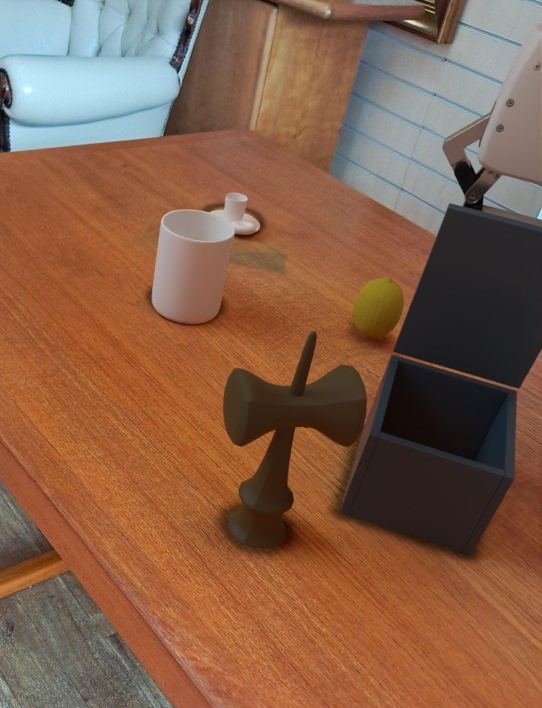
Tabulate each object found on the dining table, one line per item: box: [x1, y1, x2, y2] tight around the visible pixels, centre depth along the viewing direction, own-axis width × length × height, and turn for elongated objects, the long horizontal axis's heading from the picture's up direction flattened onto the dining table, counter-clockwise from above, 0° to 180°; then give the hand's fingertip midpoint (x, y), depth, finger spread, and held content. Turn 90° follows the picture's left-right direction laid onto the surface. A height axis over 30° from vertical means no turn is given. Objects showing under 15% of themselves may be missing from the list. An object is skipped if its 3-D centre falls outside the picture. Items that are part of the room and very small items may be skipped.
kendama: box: [222, 330, 368, 549], centre depth 61 cm, size 6×10×20 cm, turn 101°
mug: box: [151, 208, 236, 325], centre depth 92 cm, size 12×8×10 cm
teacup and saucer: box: [209, 192, 261, 236], centre depth 112 cm, size 9×8×4 cm
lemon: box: [352, 276, 405, 340], centre depth 92 cm, size 6×6×8 cm
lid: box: [392, 202, 542, 389], centre depth 68 cm, size 14×12×5 cm
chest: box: [339, 353, 518, 557], centre depth 71 cm, size 14×12×10 cm
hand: (500, 254), depth 68 cm, fingers closed on lid, 6 cm apart
